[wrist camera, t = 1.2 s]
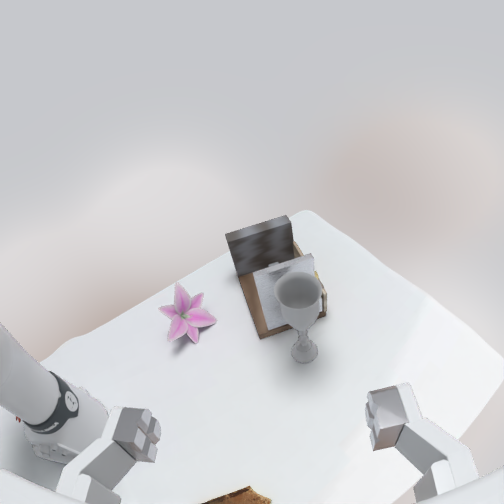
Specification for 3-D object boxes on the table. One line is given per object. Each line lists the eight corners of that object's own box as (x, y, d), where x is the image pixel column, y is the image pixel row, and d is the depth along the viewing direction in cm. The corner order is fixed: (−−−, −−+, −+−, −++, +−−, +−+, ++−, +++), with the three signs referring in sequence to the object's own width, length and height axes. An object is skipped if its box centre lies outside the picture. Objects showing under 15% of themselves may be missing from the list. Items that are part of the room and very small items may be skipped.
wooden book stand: (260, 339, 60) (248, 301, 52) (236, 273, 75) (224, 234, 67) (327, 315, 61) (326, 274, 54) (292, 254, 76) (287, 214, 69)
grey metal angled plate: (268, 330, 59) (254, 277, 49) (255, 297, 66) (241, 243, 56) (322, 311, 60) (320, 255, 50) (305, 280, 67) (299, 225, 57)
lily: (170, 359, 61) (174, 343, 54) (147, 312, 66) (148, 291, 59) (218, 338, 68) (229, 321, 61) (194, 296, 72) (201, 273, 65)
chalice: (278, 348, 58) (264, 286, 46) (307, 329, 60) (301, 264, 48) (301, 374, 53) (294, 317, 41) (330, 353, 55) (332, 291, 43)
